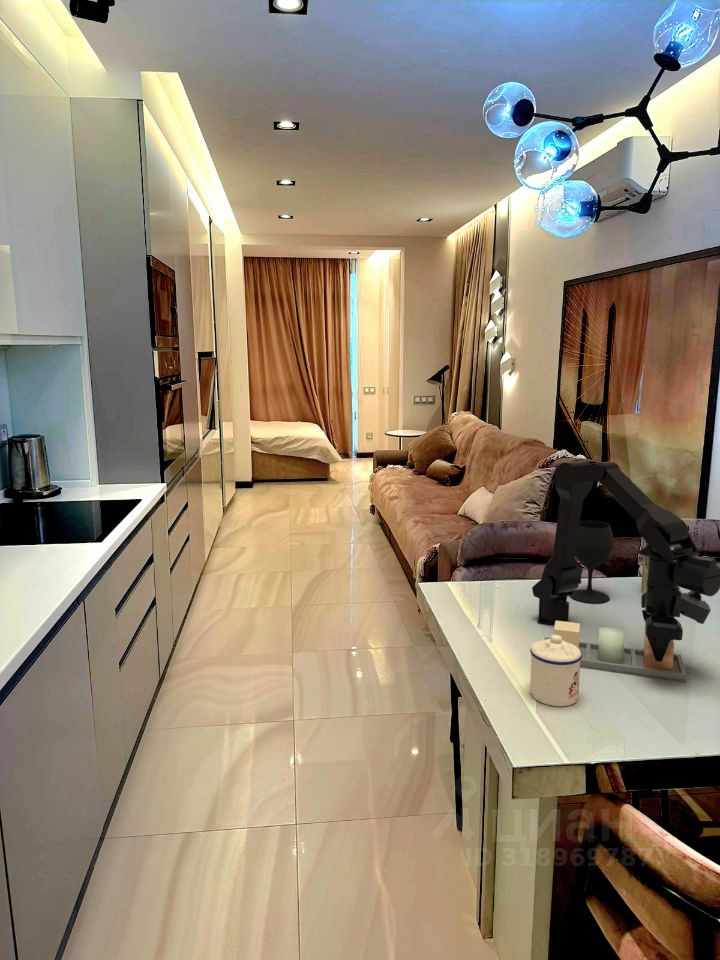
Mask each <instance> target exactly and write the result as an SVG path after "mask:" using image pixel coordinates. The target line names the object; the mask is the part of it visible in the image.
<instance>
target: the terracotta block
mask: <svg viewBox="0 0 720 960" xmlns="http://www.w3.org/2000/svg"><path fill="white" fill-rule="evenodd" d="M643 638H644V639H643V640H644V642H643V650H644V654H643V661H644V668H651V669H659V670H666V671H672V667H673V654H675V650H674V649H675V643H674V641H675V640H671V641H670V642H669V644H668V647H667V649H666V652H665V655H664V657H663V660H662V662H659V661H656V660H655V657H654V654H653V651H652V649H651V646H650V643H649V641H648V638H647V636H646V633H645V632H644V637H643Z"/></svg>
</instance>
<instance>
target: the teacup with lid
mask: <svg viewBox="0 0 720 960" xmlns="http://www.w3.org/2000/svg"><path fill="white" fill-rule="evenodd" d="M550 638H551V639H547V640H544V639H542V640H537V641H535V642H534V643H532V644H531V646H530V649H529V652H530V655H531V657H530V682H529V683H530V685H529V691H530V695H531V696H532V697H533V698H534V699H535V700H537V701H538V702H539V703H542V704H545V705H547V706H552V707H566V706H572V705H574V704H575V703H576V702H577V701H579V694H580V693H579V692H580V671H581V669H580V668H581V667H580V660H581V658H582V654H581V652H580V650H579V649H578V648H577V647H576V646H575V645H573V644H571V643H568V642H565V641H563V640H562V637H561V636H559V635H554V634H552V635H550Z"/></svg>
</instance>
